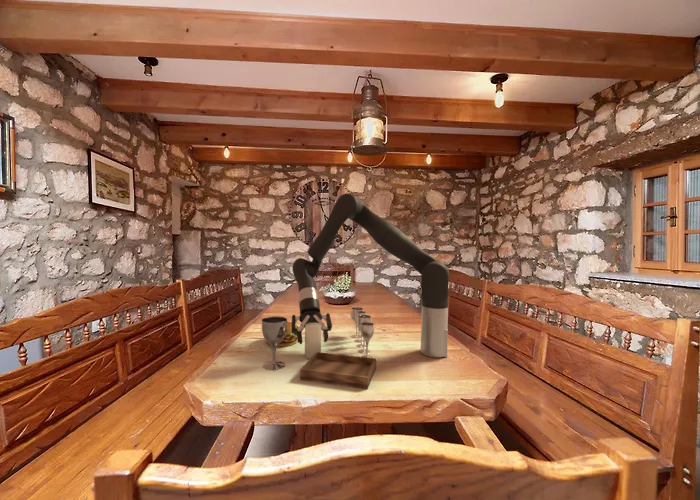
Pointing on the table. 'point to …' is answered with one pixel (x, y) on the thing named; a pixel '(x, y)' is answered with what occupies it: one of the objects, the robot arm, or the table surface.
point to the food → (288, 336)
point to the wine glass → (274, 337)
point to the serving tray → (339, 370)
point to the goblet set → (362, 329)
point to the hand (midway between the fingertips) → (313, 342)
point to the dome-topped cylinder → (312, 339)
